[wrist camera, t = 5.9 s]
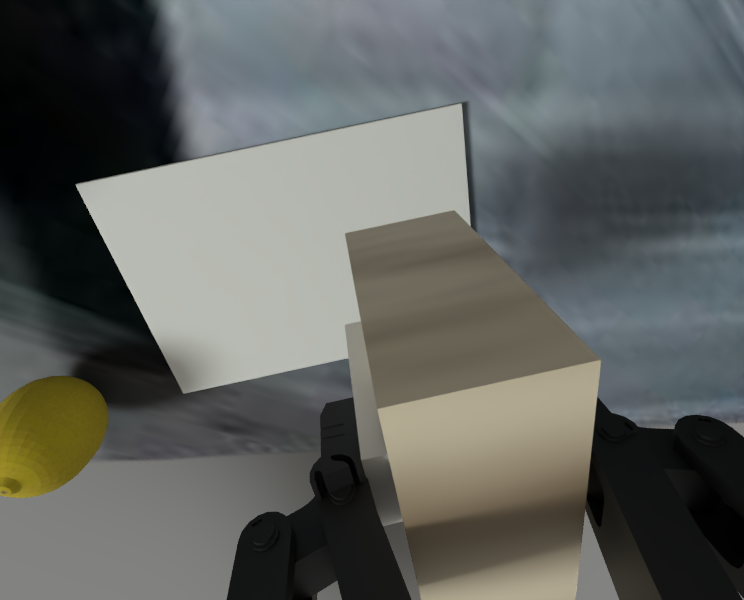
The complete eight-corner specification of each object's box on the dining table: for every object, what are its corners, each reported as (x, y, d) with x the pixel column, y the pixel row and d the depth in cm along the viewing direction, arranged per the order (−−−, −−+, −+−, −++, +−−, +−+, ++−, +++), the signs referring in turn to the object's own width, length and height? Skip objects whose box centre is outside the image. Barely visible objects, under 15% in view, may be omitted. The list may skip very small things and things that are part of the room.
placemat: (459, 103, 22) (461, 103, 22) (476, 326, 29) (478, 329, 29) (79, 182, 22) (75, 184, 22) (185, 389, 29) (183, 393, 28)
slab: (470, 397, 20) (573, 615, 12) (385, 416, 20) (432, 648, 12) (454, 210, 15) (600, 360, 8) (344, 233, 15) (377, 409, 7)
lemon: (45, 418, 29) (-43, 531, 22) (22, 349, 26) (-86, 452, 19) (134, 418, 29) (77, 527, 22) (120, 351, 27) (51, 450, 20)
